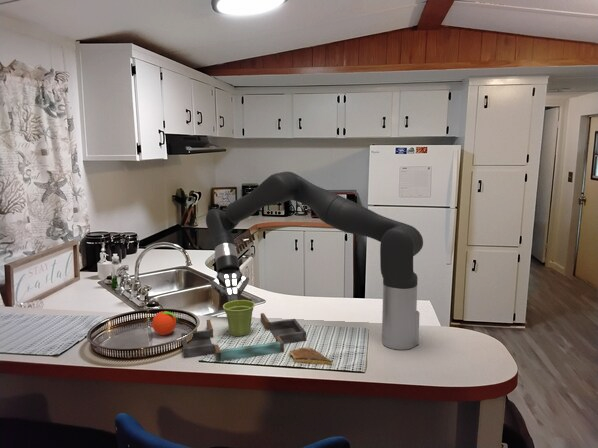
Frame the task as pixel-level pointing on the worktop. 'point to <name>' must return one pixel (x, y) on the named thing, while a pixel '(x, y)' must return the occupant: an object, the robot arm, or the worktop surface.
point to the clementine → (164, 322)
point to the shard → (309, 356)
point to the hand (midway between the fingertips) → (233, 306)
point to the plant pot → (239, 316)
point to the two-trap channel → (280, 329)
